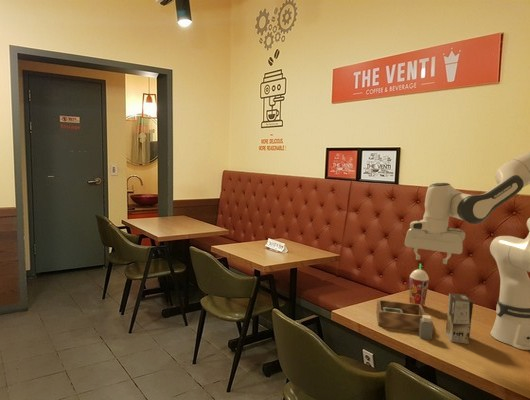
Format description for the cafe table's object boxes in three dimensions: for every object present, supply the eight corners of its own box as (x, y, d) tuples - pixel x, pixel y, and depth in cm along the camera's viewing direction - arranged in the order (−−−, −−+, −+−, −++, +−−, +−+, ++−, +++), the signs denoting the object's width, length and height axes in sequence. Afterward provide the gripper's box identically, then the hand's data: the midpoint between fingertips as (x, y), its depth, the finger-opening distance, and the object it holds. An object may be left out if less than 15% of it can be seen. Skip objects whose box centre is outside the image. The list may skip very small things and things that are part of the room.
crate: (419, 317, 170) (420, 304, 169) (425, 331, 156) (426, 317, 155) (376, 312, 173) (377, 299, 173) (378, 325, 160) (379, 311, 159)
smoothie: (430, 308, 181) (434, 266, 179) (414, 309, 179) (418, 266, 177) (418, 302, 189) (422, 261, 187) (403, 303, 187) (407, 261, 185)
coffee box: (469, 344, 147) (474, 302, 145) (450, 342, 148) (455, 300, 146) (462, 333, 156) (466, 294, 154) (445, 331, 157) (448, 292, 155)
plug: (429, 335, 153) (431, 315, 152) (431, 339, 149) (433, 319, 148) (418, 333, 154) (420, 314, 153) (420, 338, 150) (422, 318, 149)
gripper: (465, 228, 148) (461, 264, 149) (407, 221, 156) (404, 255, 157) (466, 230, 142) (461, 268, 143) (406, 223, 150) (402, 259, 152)
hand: (431, 261), depth 150 cm, fingers open, 8 cm apart
